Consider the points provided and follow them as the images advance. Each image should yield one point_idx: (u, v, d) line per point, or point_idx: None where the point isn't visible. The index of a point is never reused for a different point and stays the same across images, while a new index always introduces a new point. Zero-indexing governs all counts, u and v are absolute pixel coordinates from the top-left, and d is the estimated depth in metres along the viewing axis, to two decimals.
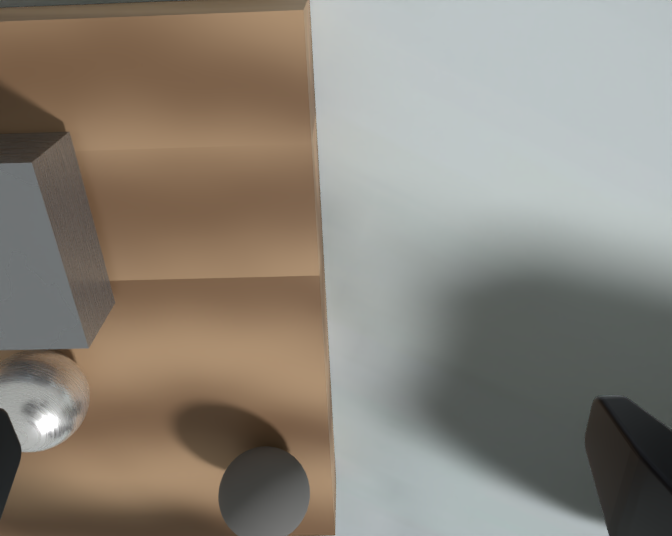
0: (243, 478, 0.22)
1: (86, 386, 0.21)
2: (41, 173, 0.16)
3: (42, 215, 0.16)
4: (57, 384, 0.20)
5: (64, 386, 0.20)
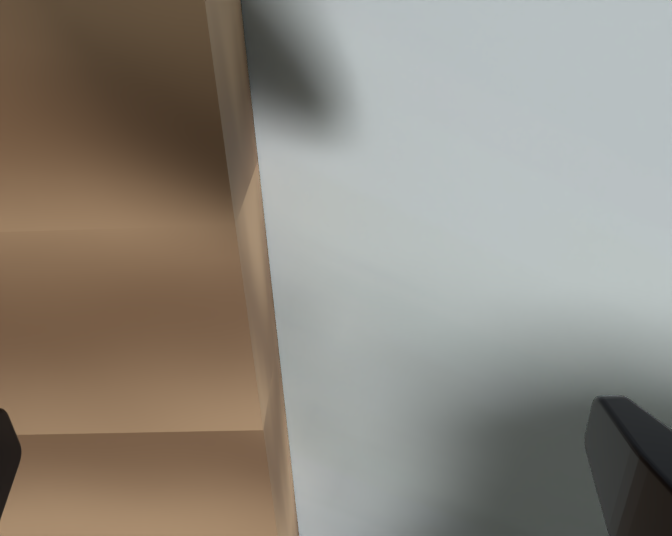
0: None
1: None
2: None
3: None
4: None
5: None
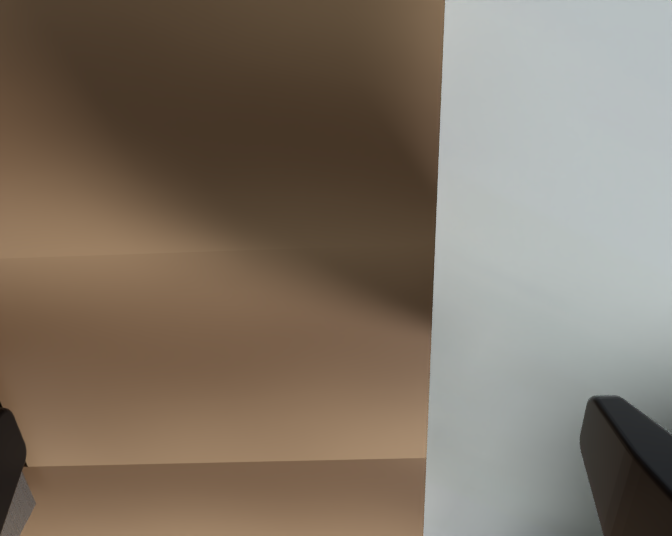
0: None
1: None
2: None
3: None
4: None
5: None
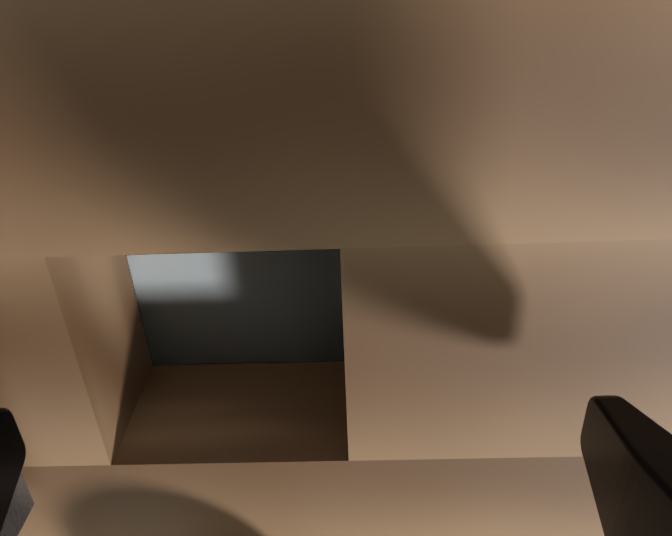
0: None
1: None
2: None
3: None
4: None
5: None
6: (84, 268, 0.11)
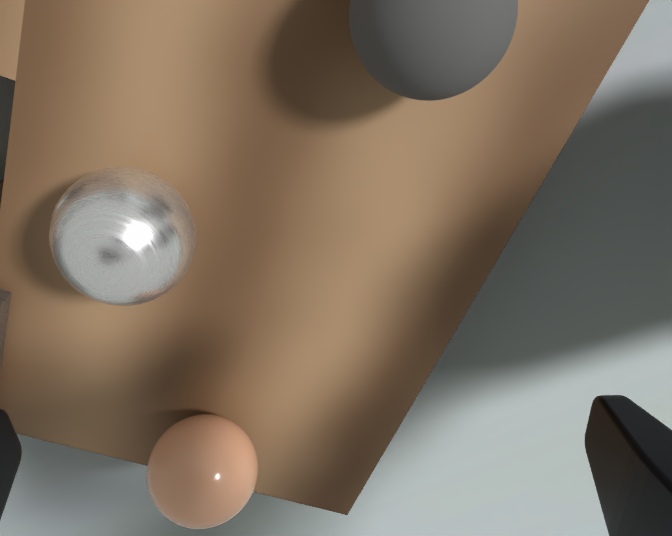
0: (355, 17, 0.12)
1: (136, 169, 0.15)
2: None
3: None
4: (83, 185, 0.14)
5: (93, 181, 0.14)
6: None
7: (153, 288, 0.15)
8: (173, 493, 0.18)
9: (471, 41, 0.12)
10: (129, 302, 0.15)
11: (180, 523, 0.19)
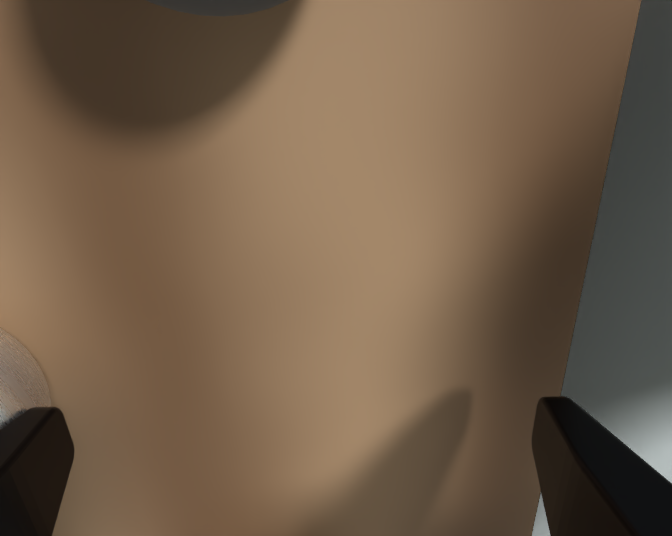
0: None
1: None
2: None
3: None
4: None
5: None
6: None
7: None
8: None
9: None
10: None
11: None
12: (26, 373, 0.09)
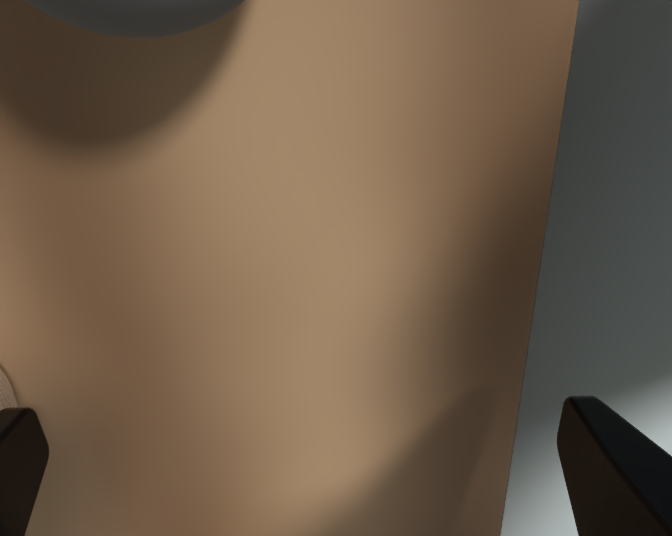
0: None
1: None
2: None
3: None
4: None
5: None
6: None
7: None
8: None
9: None
10: None
11: None
12: None
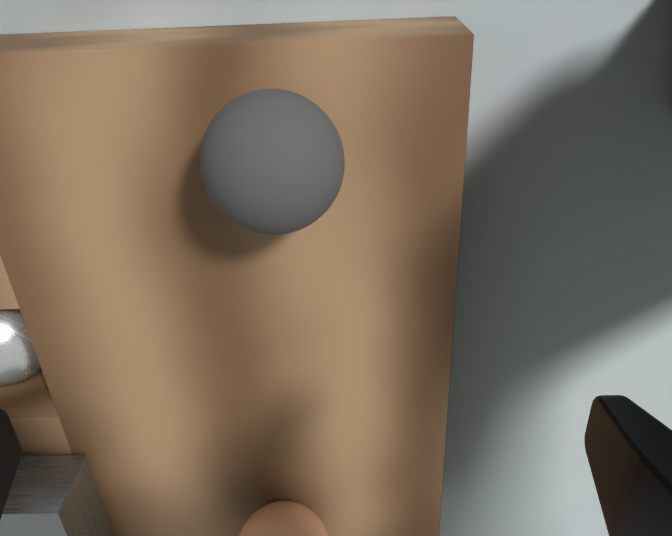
0: None
1: None
2: None
3: None
4: None
5: None
6: None
7: None
8: None
9: (292, 190, 0.14)
10: None
11: None
12: (4, 341, 0.20)
